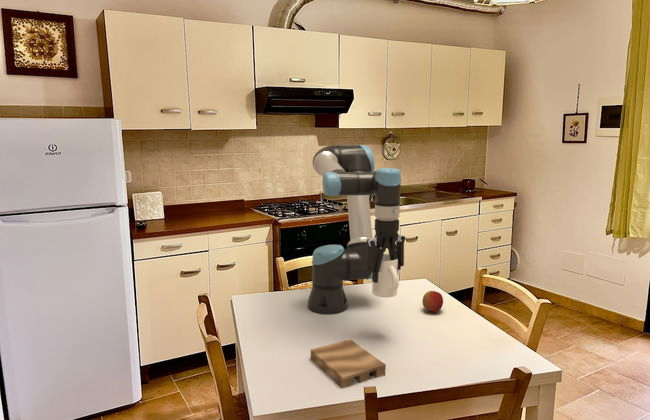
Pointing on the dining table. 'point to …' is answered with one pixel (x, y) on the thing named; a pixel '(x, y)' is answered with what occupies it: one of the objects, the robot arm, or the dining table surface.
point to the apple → (432, 301)
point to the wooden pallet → (347, 362)
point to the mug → (388, 277)
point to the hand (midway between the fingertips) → (384, 289)
